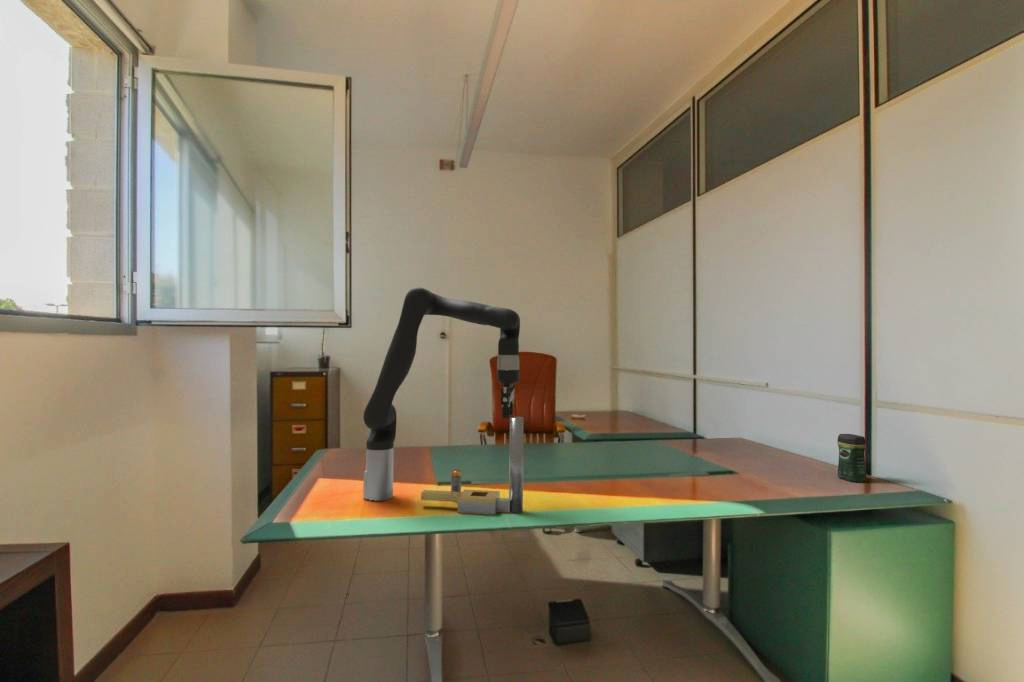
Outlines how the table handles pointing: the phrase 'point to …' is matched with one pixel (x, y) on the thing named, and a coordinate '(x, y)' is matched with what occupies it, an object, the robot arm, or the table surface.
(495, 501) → the grey l-shaped piece
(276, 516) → the table surface
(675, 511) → the table surface
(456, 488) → the wedge pin
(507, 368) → the robot arm
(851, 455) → the coffee jar
